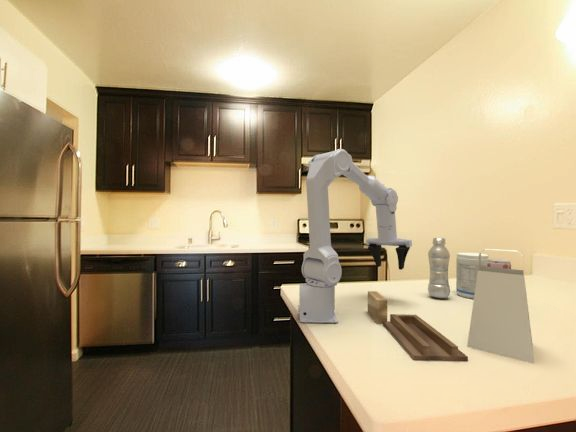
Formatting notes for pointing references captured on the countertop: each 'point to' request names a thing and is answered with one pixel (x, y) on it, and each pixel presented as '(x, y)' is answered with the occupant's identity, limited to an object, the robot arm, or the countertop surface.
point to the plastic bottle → (439, 269)
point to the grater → (501, 313)
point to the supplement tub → (468, 272)
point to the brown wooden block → (377, 307)
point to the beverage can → (499, 263)
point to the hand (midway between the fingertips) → (389, 267)
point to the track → (422, 339)
